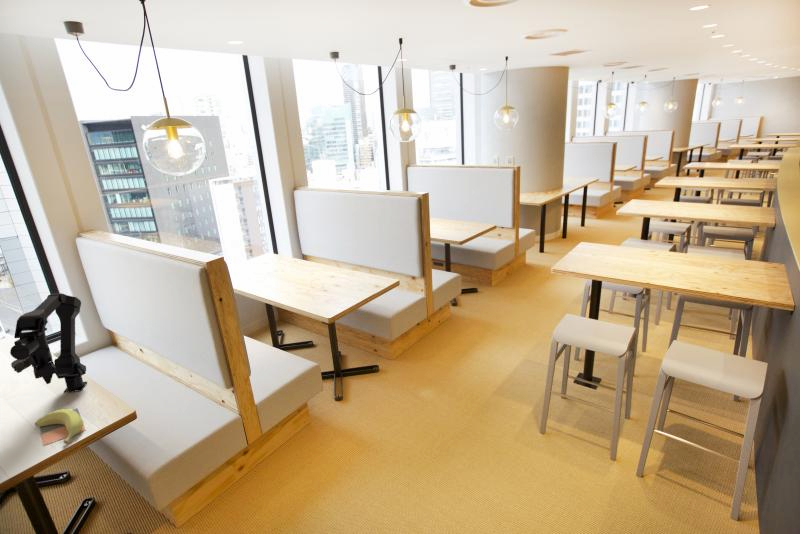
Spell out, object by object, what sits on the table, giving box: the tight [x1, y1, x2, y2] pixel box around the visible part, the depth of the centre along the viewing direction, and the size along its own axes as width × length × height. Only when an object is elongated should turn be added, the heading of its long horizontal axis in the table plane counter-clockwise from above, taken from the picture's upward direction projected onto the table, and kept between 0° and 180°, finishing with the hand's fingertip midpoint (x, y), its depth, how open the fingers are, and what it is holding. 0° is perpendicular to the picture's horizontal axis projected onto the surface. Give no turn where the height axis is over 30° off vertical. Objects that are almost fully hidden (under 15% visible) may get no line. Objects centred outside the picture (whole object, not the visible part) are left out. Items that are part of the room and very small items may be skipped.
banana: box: [34, 408, 85, 445], centre depth 155 cm, size 14×6×20 cm
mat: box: [39, 407, 82, 435], centre depth 162 cm, size 10×12×1 cm
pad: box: [40, 424, 86, 447], centre depth 156 cm, size 8×12×1 cm, turn 133°
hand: (48, 383), depth 165 cm, fingers closed
